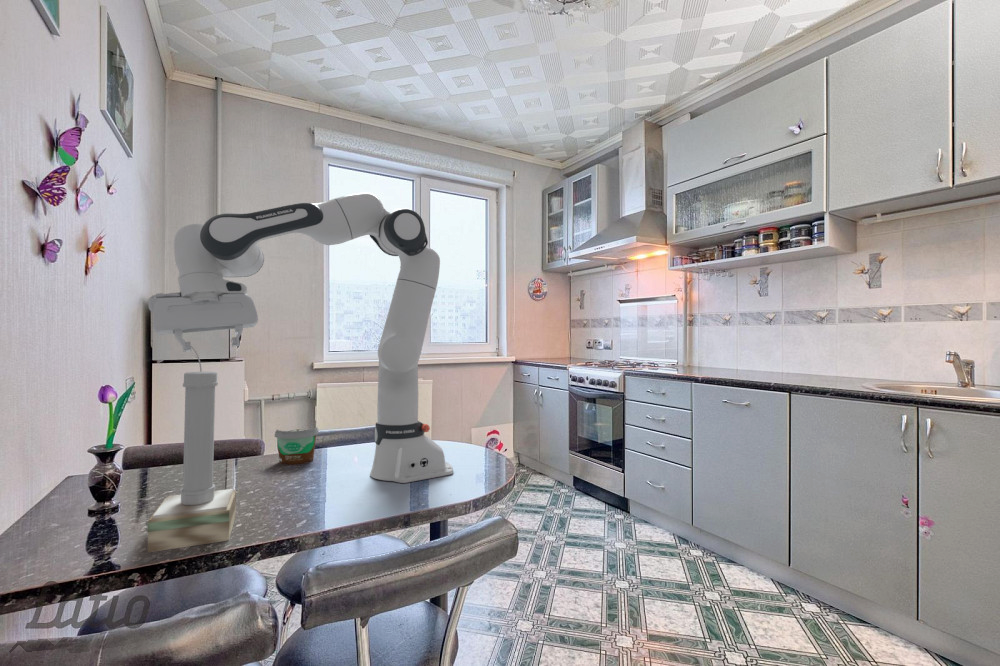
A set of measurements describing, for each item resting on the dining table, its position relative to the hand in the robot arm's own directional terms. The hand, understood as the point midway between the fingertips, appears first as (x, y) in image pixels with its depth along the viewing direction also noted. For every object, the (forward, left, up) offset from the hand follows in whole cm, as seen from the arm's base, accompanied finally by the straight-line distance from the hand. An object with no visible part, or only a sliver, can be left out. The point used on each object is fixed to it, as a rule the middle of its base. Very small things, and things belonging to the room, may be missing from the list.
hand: (212, 348), depth 103 cm
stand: (0, +18, -35) cm, 39 cm away
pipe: (0, +18, -29) cm, 34 cm away
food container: (-18, -28, -35) cm, 48 cm away
